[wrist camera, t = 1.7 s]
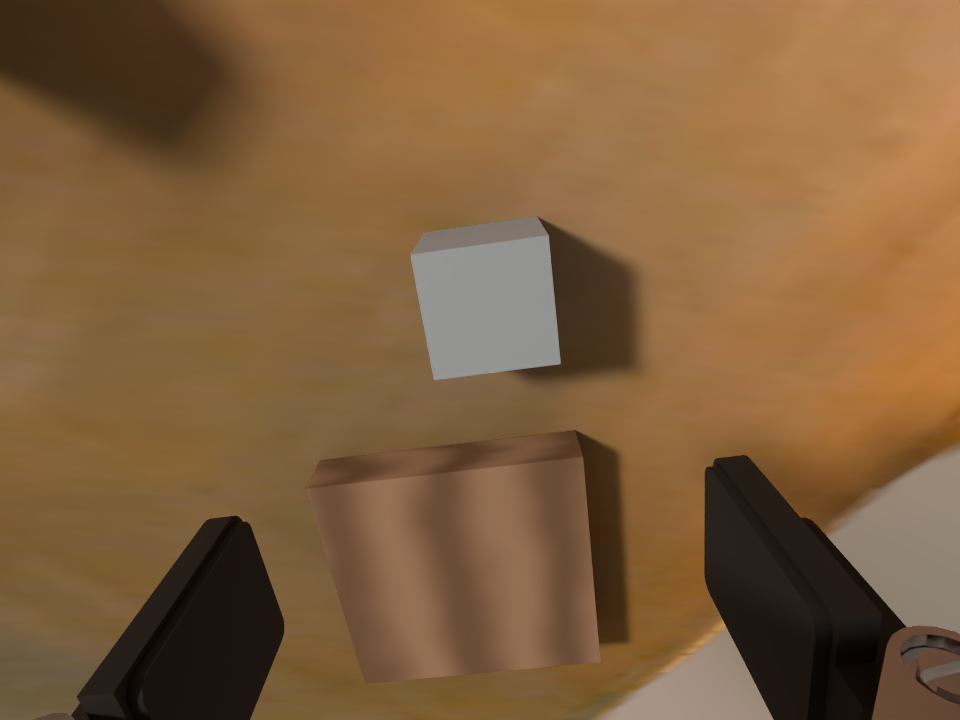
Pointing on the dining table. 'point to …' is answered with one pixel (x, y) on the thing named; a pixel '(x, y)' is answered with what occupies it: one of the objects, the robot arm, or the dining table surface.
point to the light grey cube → (487, 298)
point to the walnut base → (461, 556)
